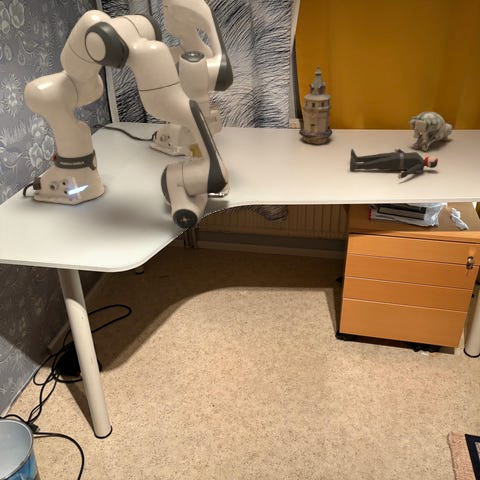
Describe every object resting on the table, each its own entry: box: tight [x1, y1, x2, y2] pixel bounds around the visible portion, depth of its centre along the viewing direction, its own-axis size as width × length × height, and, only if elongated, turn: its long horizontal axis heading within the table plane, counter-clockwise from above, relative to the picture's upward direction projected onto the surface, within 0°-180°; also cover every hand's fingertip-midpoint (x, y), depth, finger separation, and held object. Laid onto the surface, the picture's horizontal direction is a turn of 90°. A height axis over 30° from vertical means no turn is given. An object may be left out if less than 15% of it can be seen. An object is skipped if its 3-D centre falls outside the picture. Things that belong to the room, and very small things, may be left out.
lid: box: [189, 143, 202, 156], centre depth 168 cm, size 5×5×2 cm
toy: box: [349, 148, 439, 180], centre depth 190 cm, size 26×6×30 cm
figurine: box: [408, 111, 453, 152], centre depth 210 cm, size 10×19×20 cm
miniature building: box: [298, 65, 333, 145], centre depth 213 cm, size 13×14×30 cm
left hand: (199, 177), depth 173 cm, fingers closed on jar, 5 cm apart
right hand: (198, 152), depth 168 cm, fingers open, 7 cm apart
